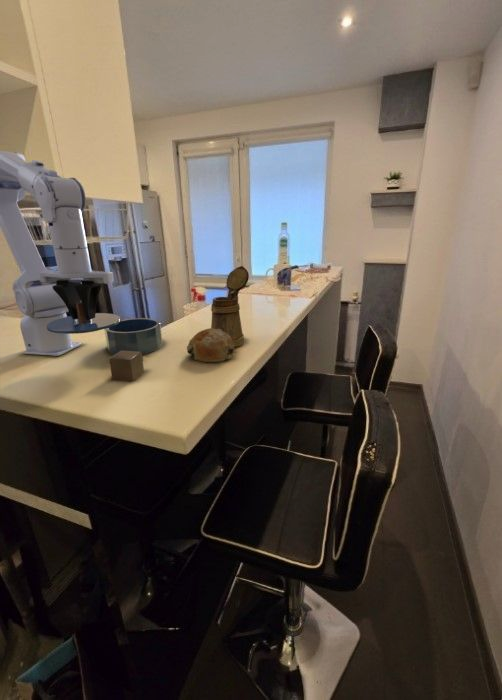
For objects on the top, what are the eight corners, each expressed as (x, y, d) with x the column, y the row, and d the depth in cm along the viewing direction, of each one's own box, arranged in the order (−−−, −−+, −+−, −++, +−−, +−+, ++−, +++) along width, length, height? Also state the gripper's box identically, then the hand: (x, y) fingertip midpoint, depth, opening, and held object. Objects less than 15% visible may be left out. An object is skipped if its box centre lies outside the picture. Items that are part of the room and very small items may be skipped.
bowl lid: (30, 335, 62) (23, 308, 60) (77, 316, 74) (73, 294, 72) (95, 338, 59) (90, 311, 58) (133, 319, 72) (130, 296, 70)
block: (112, 379, 63) (108, 358, 61) (124, 370, 67) (121, 350, 65) (133, 381, 62) (130, 359, 61) (144, 371, 66) (141, 351, 65)
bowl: (97, 354, 76) (93, 331, 74) (125, 337, 87) (122, 317, 85) (148, 357, 74) (145, 334, 72) (170, 339, 85) (168, 319, 83)
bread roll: (219, 380, 70) (233, 349, 67) (177, 358, 71) (189, 326, 67) (230, 362, 79) (244, 335, 76) (193, 343, 80) (205, 315, 76)
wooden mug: (258, 334, 89) (258, 266, 82) (233, 350, 77) (231, 272, 71) (229, 330, 92) (227, 265, 86) (202, 344, 81) (197, 270, 75)
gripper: (117, 247, 64) (127, 314, 69) (52, 247, 66) (66, 312, 71) (96, 249, 58) (108, 323, 62) (24, 249, 60) (41, 321, 65)
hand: (84, 318), depth 66 cm, fingers closed on bowl lid, 2 cm apart
